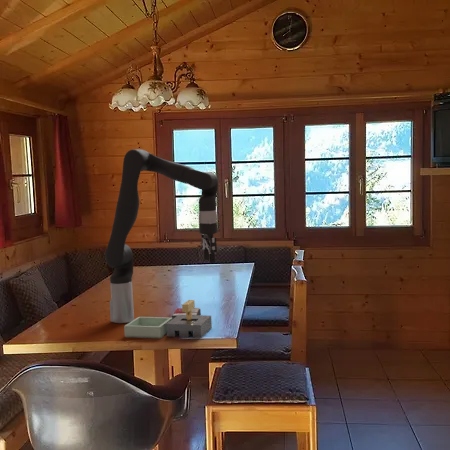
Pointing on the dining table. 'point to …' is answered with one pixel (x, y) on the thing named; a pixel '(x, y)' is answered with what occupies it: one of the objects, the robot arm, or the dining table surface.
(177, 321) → the lock block
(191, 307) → the t key
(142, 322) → the tray
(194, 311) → the calculator
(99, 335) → the dining table surface
